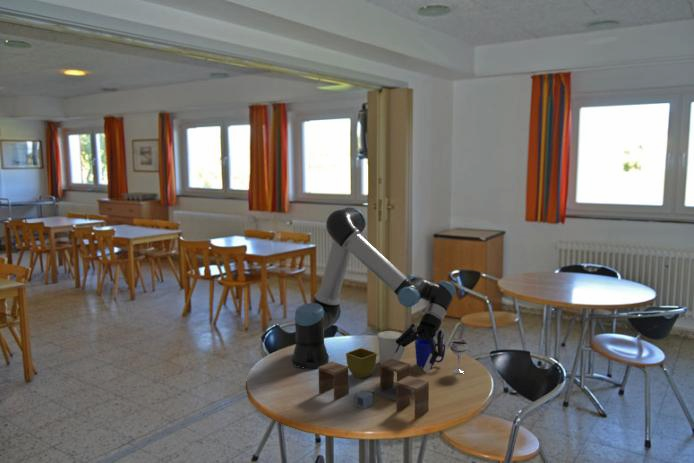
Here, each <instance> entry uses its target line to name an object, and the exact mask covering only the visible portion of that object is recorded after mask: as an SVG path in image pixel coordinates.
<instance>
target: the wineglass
mask: <svg viewBox="0 0 694 463" xmlns="http://www.w3.org/2000/svg"><path fill="white" fill-rule="evenodd" d="M468 343H469V341H468V340H466V339H462V338H454V339H451V340H450V345H449V346H450V347H449V348H450V352H452V353H453V354H455V355H456V356H457V364H458V365H457V367H458V368H455V369H452V371H453V372H452V373H453V374H456V373H463V372H464V371H465V370H464V369H462V368H461V369H460V367H461V366H460V365H461V364H460V363H461V356H463V355H465V354H466V353H467V352H468V349H469V345H468ZM463 370H464V371H463ZM463 374H464V373H463Z"/></svg>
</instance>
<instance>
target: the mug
mask: <svg viewBox="0 0 694 463" xmlns="http://www.w3.org/2000/svg"><path fill="white" fill-rule="evenodd" d="M434 343H435V346H436V348H437V341H436V340H434ZM414 348H415V359H416V360H415V362H416V365H418V367H420V368H424V366H425V364H426V362H427V360H428V357H429V355H430V353H431V354H433V353H432V349H431V346H430V342H429V340H428V341H426V340H424V339H423V340H422V339H418V340H415V341H414ZM445 354H446V344H444V343H443V357H441V358H440V359H438V360H437V359H436V361H435V363H437V364H438V363H442V362H443V361H444V357H445ZM432 366H433V365H431V367H432Z"/></svg>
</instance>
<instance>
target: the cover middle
mask: <svg viewBox="0 0 694 463" xmlns="http://www.w3.org/2000/svg"><path fill="white" fill-rule="evenodd" d="M379 370H380V371H379V372H380V374H379V376H380V377H379V378H380V379H379V380H380V381H379V382H380V383H379V384H380V386H379V388H380V391H381V392H382V391H384V390H386V389H388V388H390V387H391V386H393V385H394V382H395V381H394V378H395V377H394V372H395V373H396V382H398V381H400V380H401V379H403V378H405V377H407V376H411V363H408V362H405V361H401V360H400V361H398V360H394V359H390V360H388V361H386V362H384V363H382V364H379Z"/></svg>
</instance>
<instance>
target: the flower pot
mask: <svg viewBox="0 0 694 463" xmlns="http://www.w3.org/2000/svg"><path fill="white" fill-rule="evenodd" d="M377 355H378V353H377V352H376V351H372V350H370V349H365V348H364V347H360V348H357V349H354V350H350V351H348V352H346V353H345V357H346V363H347V365H346V366H348V371H349V373H351V375H353V376H354V377H357V378H359V379H363V378H366V377H369V376H371V374H372V373H373V371H374V369H375V366H376V363H377Z"/></svg>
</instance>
